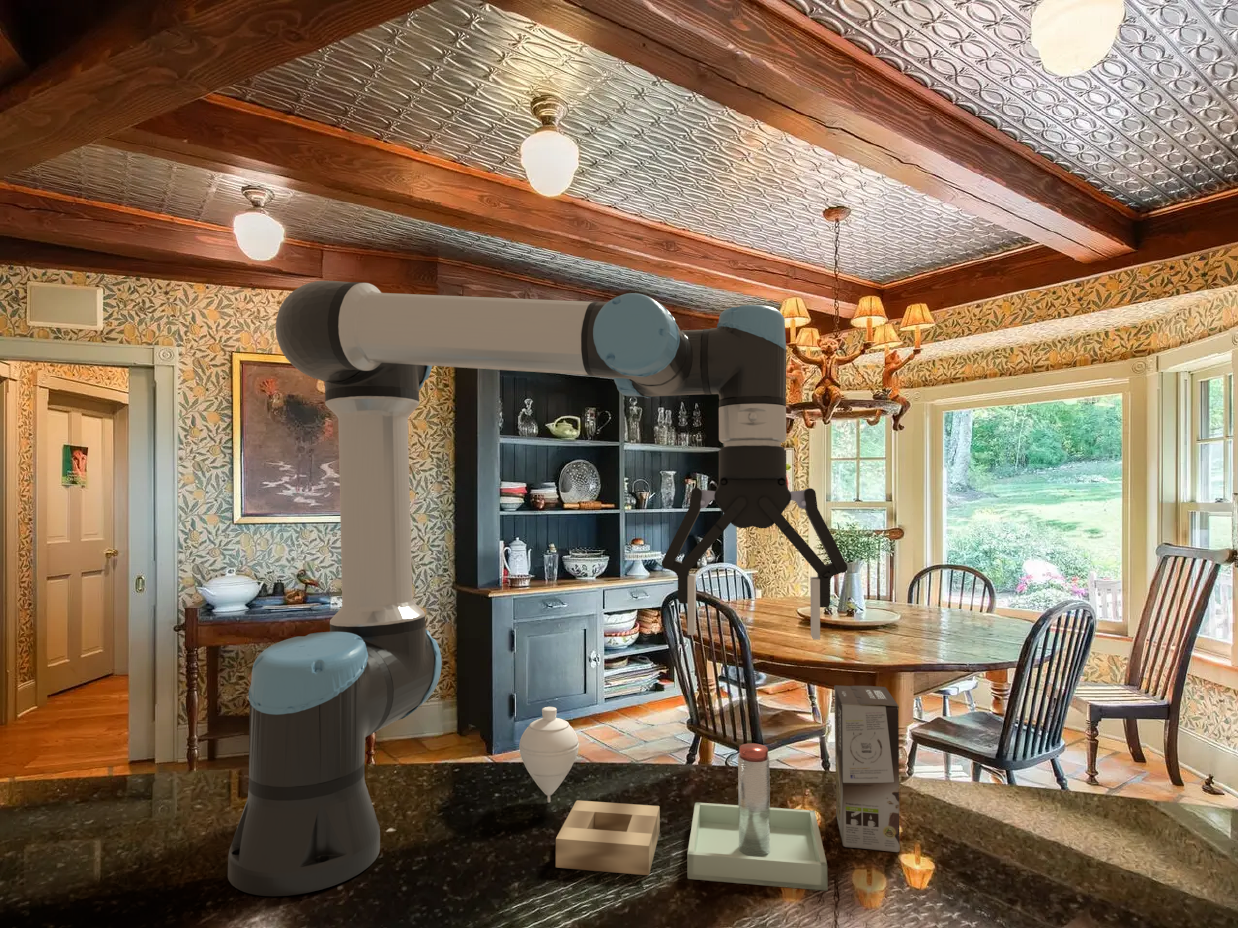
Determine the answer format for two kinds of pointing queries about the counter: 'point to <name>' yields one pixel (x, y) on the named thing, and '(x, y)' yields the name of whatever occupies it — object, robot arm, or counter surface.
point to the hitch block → (609, 837)
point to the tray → (721, 860)
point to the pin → (754, 800)
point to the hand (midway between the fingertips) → (752, 635)
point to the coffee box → (867, 767)
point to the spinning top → (549, 750)
